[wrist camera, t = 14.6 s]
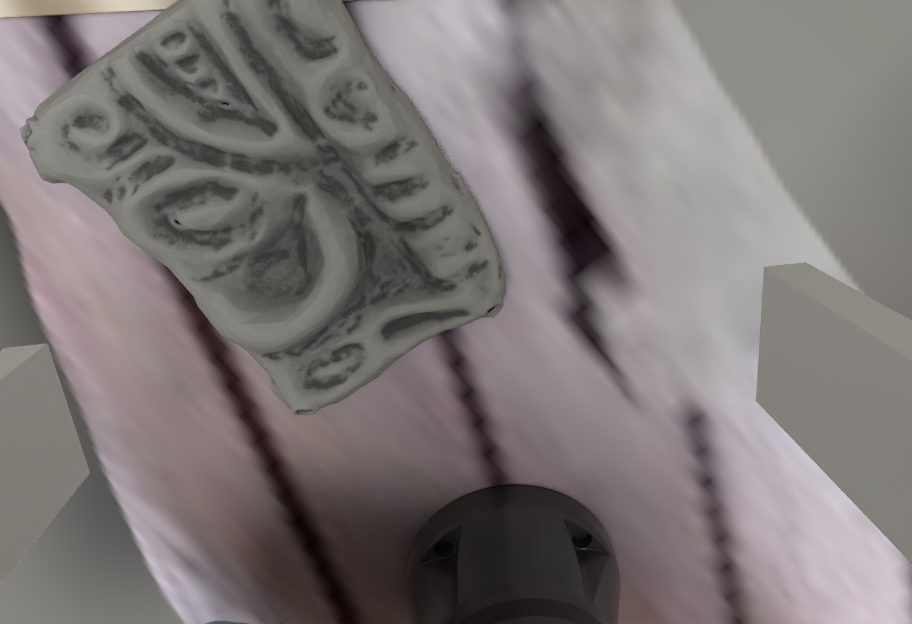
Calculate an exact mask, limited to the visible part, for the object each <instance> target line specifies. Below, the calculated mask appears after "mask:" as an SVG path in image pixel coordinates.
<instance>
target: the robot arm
mask: <svg viewBox="0 0 912 624" xmlns="http://www.w3.org/2000/svg"><path fill="white" fill-rule="evenodd" d="M756 401H757V402H758V403H759V404H760V405H761V406H762V407H763V409H764V410H765V411H766V412H767V413H768V414H769V415H770V416H771V417H772V418H773V419H774V420H775V421H776V422H777V423H778V424H779V425H780V426H781V427H782V428H783V429H784V430H785V432H786V433H787V434H788V435H789V436H790V437H791V438H792V439H793V440H794V441H795V442H796V443H797V444H798V445H799V446H800V447H801V448H802V449H803V450H804V451H805V452H806V453H807V454H808V456H809V457H810V458H811V459H812V460H813V461H814V462H815V463H816V464H817V465H818V466H819V467H820V468H821V469H822V470H823V471H824V472H825V473H826V474H827V475H828V476H829V477H830V479H831V480H832V481H833V482H834V483H835V484H836V485H837V486H838V487H839V488H840V489H841V490H842V491H843V492H844V493H845V494H846V495H847V496H848V497H849V498H850V499H851V500H852V502H853V503H854V504H855V505H856V506H857V507H858V508H859V509H860V510H861V511H862V512H863V513H864V514H865V515H866V516H867V517H868V518H869V519H870V520H871V521H872V522H873V523H874V524H875V526H876V527H877V528H878V529H879V530H880V531H881V532H882V533H883V534H884V535H885V536H886V537H887V538H888V539H889V540H890V541H891V542H892V543H893V544H894V545H895V546H896V547H897V549H898V550H899V551H900V552H901V553H902V554H903V555H904V556H905V557H906V558H907V559H908V560H909V561H910V562H911V563H912V321H911V320H910V319H908V318H906V317H904V316H902V315H900V314H899V313H897V312H895V311H893V310H891V309H889V308H888V307H886V306H884V305H882V304H880V303H878V302H876V301H875V300H873V299H871V298H869V297H868V296H866V295H864V294H862V293H860V292H858V291H857V290H855V289H853V288H851V287H849V286H847V285H846V284H844V283H842V282H840V281H838V280H836V279H835V278H833V277H831V276H829V275H827V274H826V273H824V272H822V271H820V270H818V269H816V268H815V267H813V266H811V265H809V264H807V263H797V264H787V265H778V266H769V267H764V276H763V293H762V310H761V327H760V344H759V361H758V378H757V396H756ZM88 475H89V469H88V466H87V463H86V460H85V457H84V454H83V451H82V448H81V445H80V442H79V439H78V436H77V433H76V430H75V426H74V423H73V420H72V417H71V414H70V411H69V408H68V405H67V402H66V399H65V396H64V393H63V390H62V387H61V384H60V381H59V378H58V375H57V372H56V369H55V366H54V363H53V359H52V356H51V353H50V350H49V347H48V344H39V345H31V346H20V347H11V348H5V349H3V350H2V351H0V585H1V584H2V583H3V582H4V580H5V579H6V578H7V576H8V575H9V574H10V573H11V571H12V570H13V569H14V568H15V566H16V565H17V564H18V563H19V561H20V560H21V559H22V558H23V556H24V555H25V554H26V552H27V551H28V550H29V549H30V548H31V546H32V545H33V544H34V542H35V541H36V540H37V539H38V538H39V536H40V535H41V534H42V532H43V531H44V530H45V529H46V527H47V526H48V525H49V524H50V522H51V521H52V520H53V519H54V517H55V516H56V515H57V514H58V512H59V511H60V510H61V509H62V507H63V506H64V504H66V502H67V501H68V500H69V498H70V497H71V496H72V494H73V493H74V492H75V491H76V490H77V488H78V487H79V486H80V485H81V483H82V482H83V481H84V480H85V478H86V477H87V476H88ZM619 595H620V576H619V569H618V564H617V561H616V558H615V555H614V552H613V549H612V546H611V543H610V541H609V538H608V536H607V534H606V532H605V530H604V528H603V527H602V525H601V524H600V522H599V521H598V520H597V519H596V518H595V517H594V515H593V514H592V513H590V512H589V511H588V510H587V509H586V508H585V507H583V506H582V505H581V504H579V503H578V502H576V501H574V500H572V499H571V498H569V497H567V496H564V495H562V494H559V493H557V492H554V491H551V490H547V489H543V488H537V487H530V486H503V487H495V488H490V489H485V490H482V491H478V492H475V493H472V494H469V495H467V496H465V497H462V498H460V499H458V500H456V501H454V502H453V503H451V504H449V505H448V506H446V507H445V508H443V509H442V510H441V511H439V512H438V513H437V514H436V515H435V516H434V517H432V518H431V519H430V520H429V521H428V523H427V524H426V525H425V526H424V527H423V529H422V530H421V531H420V533H419V534H418V536H417V537H416V539H415V541H414V543H413V545H412V548H411V551H410V554H409V557H408V562H407V575H406V599H407V606H408V610H409V614H410V617H411V620H412V623H413V624H617V619H618V607H619ZM206 624H247V623H238V622H229V621H213V622H209V623H206ZM276 624H283V623H276Z"/></svg>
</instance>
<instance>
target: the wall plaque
mask: <svg viewBox="0 0 912 624" xmlns="http://www.w3.org/2000/svg"><path fill="white" fill-rule="evenodd" d="M189 83H190V84H189ZM223 103H228V104H229V105H226V104H223ZM26 123H27V124H26V125H25V126H23V127H22V128H20V131H21V136H22V138H23V140H24V142H25V144H26V146H27V148H28V149H29V153H30V157H31V159H32V161H33V163H34V165H35V167H36V169H37V171H38V173H39V175H40V177H41V178H42V179H43V180H45V181H48V182H51V183H69V184H70V185H72V186H74V187H76V188H77V189H79V190H80V191H82V192H83V193H84V194H85V195H87V196H88V197H89V198H91V199H92V200H93V201H94V202H96V203H97V204H98V205H99V206H101V207H102V208H103V209H105V210H106V211H107V212H108V214H109V215H110V216H111V217H112V218H113V220H114V221H115V223H116V224H117V226H118V227H119V229H120V230H121V232H122V233H123V234H124V235H125V236H126V237H127V238H128V239H130V240H131V241H132V242H133V243H135V244H136V245H137V246H139V247H140V248H141V249H142V250H144V251H145V252H146V253H148V254H149V255H151V256H152V257H154V258H155V259H156V260H158V261H159V262H161V263H162V264H164V265H165V266H167V267H168V268H169V269H170V270H171V271H172V272H173V274H174V275H175V276H176V277H177V278H178V279H179V280H180V281H181V283H182V284H183V285H184V286H185V287H186V288H187V289H188V291H189V292H190V293H191V294H192V295H193V296H194V298H195V301H196V303H197V305H198V307H199V308H200V309H201V311H202V312H203V313H204V315H205V316H206V317H207V319H208V320H209V321H210V322H211V324H212V325H213V326H214V327H215V328H216V330H217V331H218V332H219V333H220V334H221V335H222V336H223V337H224V338H225V339H227V340H229V341H232V342H234V343H236V344H238V345H240V346H241V347H242V348H244V349H245V350H247V351H248V352H249V353H250V354H251V355H252V356H253V358H254V359H255V360H256V361H257V362H258V363H259V364H260V365H261V366H262V367H263V368H264V369H265V371H266V372H267V373H268V374H269V376H270V378H271V388H272V390H273V392H274V393H275V394H276V395H277V396H278V397H280V398H281V399H282V400H283V402H284V403H285V404H286V405H287V406H288V408H289V409H291V410H292V411H293V413H294V414H297V415H312V414H315V413H316V412H317V411H318V410H319V409H320V408H322V407H324V406H327V405H330V404H335V403H338V402H339V401H341V400H343V399H345V398H346V397H348V396H349V395H350V394H352V393H353V392H355V391H356V390H358V389H359V388H361V387H363V386H364V385H366V384H367V383H369V382H370V381H372V380H373V379H375V378H377V377H378V376H379V375H380V374H381V373H382V372H383V371H384V370H385V369H387V368H388V367H389V366H390V365H391V364H392V363H393V362H394V361H396V360H397V359H398V358H400V357H401V356H403V355H404V354H406V353H407V352H408V351H410V350H411V349H413V348H414V347H416V346H417V345H419V344H420V343H422V342H423V341H425V340H427V339H430V338H432V337H434V336H436V335H437V334H439V333H441V332H443V331H445V330H449V329H453V328H457V327H460V326H462V325H465V324H468V323H471V322H473V321H475V320H477V319H479V318H481V317H492V318H493V317H494V316H495V315H496V314H498V312H499V311H500V310H501V308H502V307H503V298H504V296H505V293H506V292H505V274H504V272H503V269H502V267H501V264H500V260H499V255H498V252H497V249H496V247H495V244H494V242H493V239H492V237H491V234H490V232H489V229H488V227H487V224H486V222H485V220H484V218H483V216H482V214H481V212H480V210H479V208H478V206H477V204H476V202H475V200H474V199H473V197H472V195H471V194H470V192H469V190H468V189H467V187H466V185H465V184H464V182H463V180H462V179H461V177H460V175H459V174H457V173H455V172H454V171H453V170H452V168H451V167H450V166H449V164H448V162H447V161H446V159H445V157H444V156H443V154H442V152H441V150H440V149H439V147H438V145H437V143H436V141H435V139H434V138H433V136H432V135H431V133H430V132H429V130H428V129H427V127H426V125H425V123H424V122H423V120H422V119H421V117H420V116H419V114H418V113H417V111H416V110H415V108H414V107H413V105H412V104H411V102H410V101H409V100H408V98H407V97H406V95H405V94H404V93H403V92H402V91H401V90H400V89H399V88H398V87H397V86H396V85H395V84H394V83H393V82H392V81H391V79H390V78H389V76H388V75H387V73H386V72H385V71H384V70H383V69H382V68H381V67H380V65H379V64H378V63H377V61H376V60H375V59H374V57H373V56H372V55H371V53H370V52H369V50H368V48H367V46H366V44H365V42H364V40H363V38H362V36H361V34H360V32H359V31H358V29H357V27H356V25H355V23H354V22H353V20H352V18H351V16H350V15H349V13H348V11H347V9H346V8H345V6H344V4H343V2H342V1H341V0H178V1H177V2H175V3H173V4H172V5H170V6H169V7H167V8H166V9H165V10H164V11H162V12H161V13H160V14H159V15H158V16H156V17H155V18H154V19H153V20H152V21H150V22H149V23H148V24H146V25H145V26H144V27H142V28H141V29H139V30H138V31H137V32H135V33H134V34H132V35H131V36H129V37H128V38H127V39H125V40H124V41H123V42H121V43H120V44H119V45H118V46H116V47H115V48H113V49H112V50H111V51H109V52H108V53H107V54H105V55H104V56H102V57H101V58H100V59H98V60H97V61H95V62H94V63H93V64H91V65H90V66H89V67H87V68H86V69H85V70H83V71H82V72H80V73H79V74H78V75H76V76H75V77H74V78H72V79H71V80H70V81H68V82H67V83H66V84H65V85H63V86H62V87H61V88H60V89H58V90H57V91H56V92H55V93H53V94H52V95H51V96H50V97H48V98H47V99H46V100H45V101H43V102H42V103H41V104H40V105H39V106H38V107H37V109H36V111H35V113H34V115H33V117H31V118H29V119H27V120H26ZM175 220H177V221H178V222H179V223H180V224H178V223H177V222H176V221H175Z"/></svg>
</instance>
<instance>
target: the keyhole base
mask: <svg viewBox="0 0 912 624" xmlns="http://www.w3.org/2000/svg"><path fill="white" fill-rule="evenodd" d="M177 1H178V0H0V18H14V17H34V16H55V15H75V14H95V13H115V12H135V11H156V10H165V9H166V8H167V7H169V6H170V5H172V4H173V3H175V2H177ZM341 1H357V0H341Z"/></svg>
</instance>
